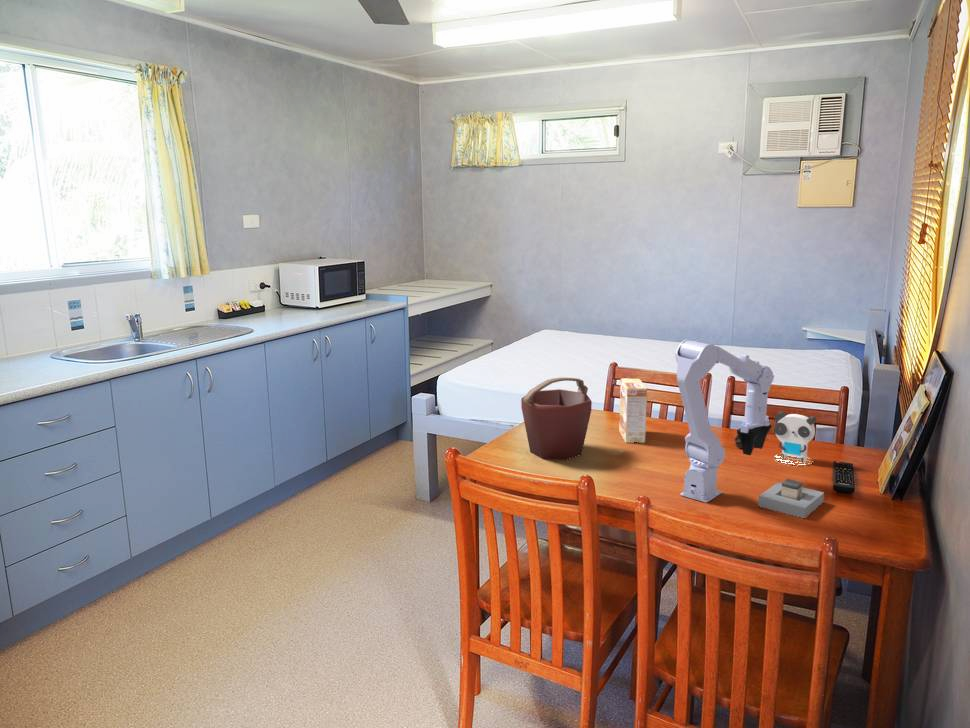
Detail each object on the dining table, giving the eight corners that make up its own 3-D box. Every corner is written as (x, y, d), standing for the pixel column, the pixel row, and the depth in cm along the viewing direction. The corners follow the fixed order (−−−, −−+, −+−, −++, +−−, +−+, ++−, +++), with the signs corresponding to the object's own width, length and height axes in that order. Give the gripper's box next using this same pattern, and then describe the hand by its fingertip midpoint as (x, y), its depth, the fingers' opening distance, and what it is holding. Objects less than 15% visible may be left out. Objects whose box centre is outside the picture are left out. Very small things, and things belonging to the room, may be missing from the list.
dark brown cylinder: (736, 454, 236) (744, 440, 249) (751, 449, 233) (758, 435, 246) (728, 438, 236) (737, 425, 249) (743, 433, 233) (750, 420, 246)
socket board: (804, 519, 181) (805, 508, 180) (758, 506, 189) (758, 495, 188) (823, 502, 191) (824, 492, 190) (778, 491, 199) (779, 481, 198)
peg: (795, 507, 187) (797, 486, 186) (780, 503, 190) (782, 482, 189) (801, 503, 190) (802, 482, 189) (786, 499, 193) (787, 478, 191)
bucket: (579, 439, 247) (580, 369, 242) (605, 459, 226) (607, 383, 221) (512, 445, 241) (512, 374, 236) (533, 467, 220) (533, 389, 215)
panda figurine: (766, 460, 224) (770, 415, 221) (779, 451, 232) (782, 407, 229) (806, 469, 216) (810, 422, 213) (817, 459, 225) (821, 414, 222)
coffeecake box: (618, 430, 257) (620, 378, 253) (638, 430, 257) (640, 378, 253) (624, 443, 242) (626, 388, 238) (645, 443, 242) (647, 388, 238)
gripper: (759, 413, 194) (755, 460, 197) (780, 403, 204) (776, 448, 207) (734, 409, 199) (731, 454, 201) (756, 399, 209) (753, 443, 212)
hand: (752, 451), depth 204 cm, fingers open, 7 cm apart
